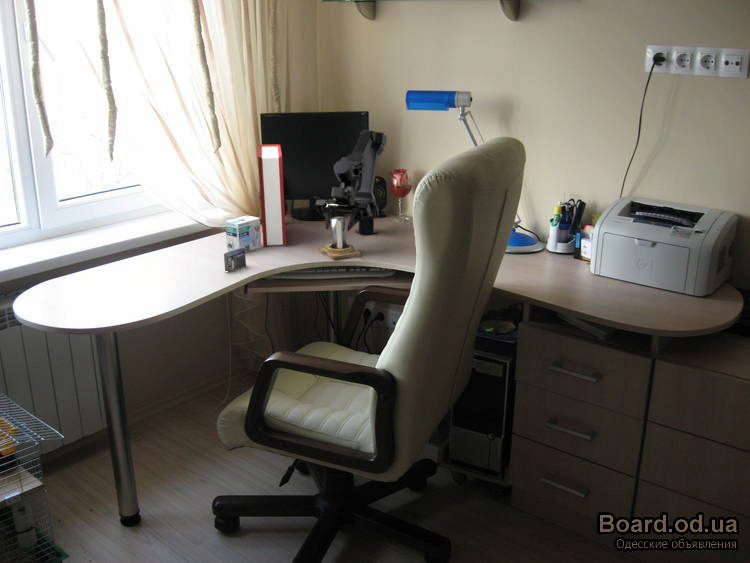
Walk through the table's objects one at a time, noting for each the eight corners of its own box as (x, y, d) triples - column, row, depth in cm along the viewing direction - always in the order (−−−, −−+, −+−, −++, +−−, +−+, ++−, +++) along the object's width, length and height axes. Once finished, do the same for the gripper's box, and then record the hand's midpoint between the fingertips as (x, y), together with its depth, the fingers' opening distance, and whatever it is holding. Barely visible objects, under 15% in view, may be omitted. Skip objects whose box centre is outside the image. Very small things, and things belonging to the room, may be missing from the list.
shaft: (331, 248, 253) (329, 217, 249) (346, 247, 253) (344, 216, 250) (332, 252, 248) (330, 220, 244) (347, 251, 248) (345, 219, 245)
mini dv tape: (228, 272, 232) (227, 254, 230) (225, 271, 233) (223, 253, 231) (246, 265, 239) (244, 248, 237) (242, 265, 240) (241, 247, 238)
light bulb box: (239, 254, 251) (237, 223, 248) (226, 251, 255) (224, 220, 252) (262, 247, 259) (260, 217, 256) (249, 244, 263) (247, 214, 260)
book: (286, 246, 260) (281, 155, 250) (263, 247, 259) (257, 156, 249) (284, 227, 286) (280, 144, 275) (263, 228, 285) (258, 144, 274)
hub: (318, 251, 253) (318, 244, 253) (344, 247, 258) (344, 240, 257) (333, 260, 244) (333, 252, 243) (360, 256, 248) (360, 248, 247)
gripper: (315, 175, 249) (304, 215, 242) (368, 178, 244) (358, 218, 237) (324, 194, 258) (314, 232, 252) (375, 197, 253) (366, 236, 247)
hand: (337, 229), depth 247 cm, fingers open, 7 cm apart
